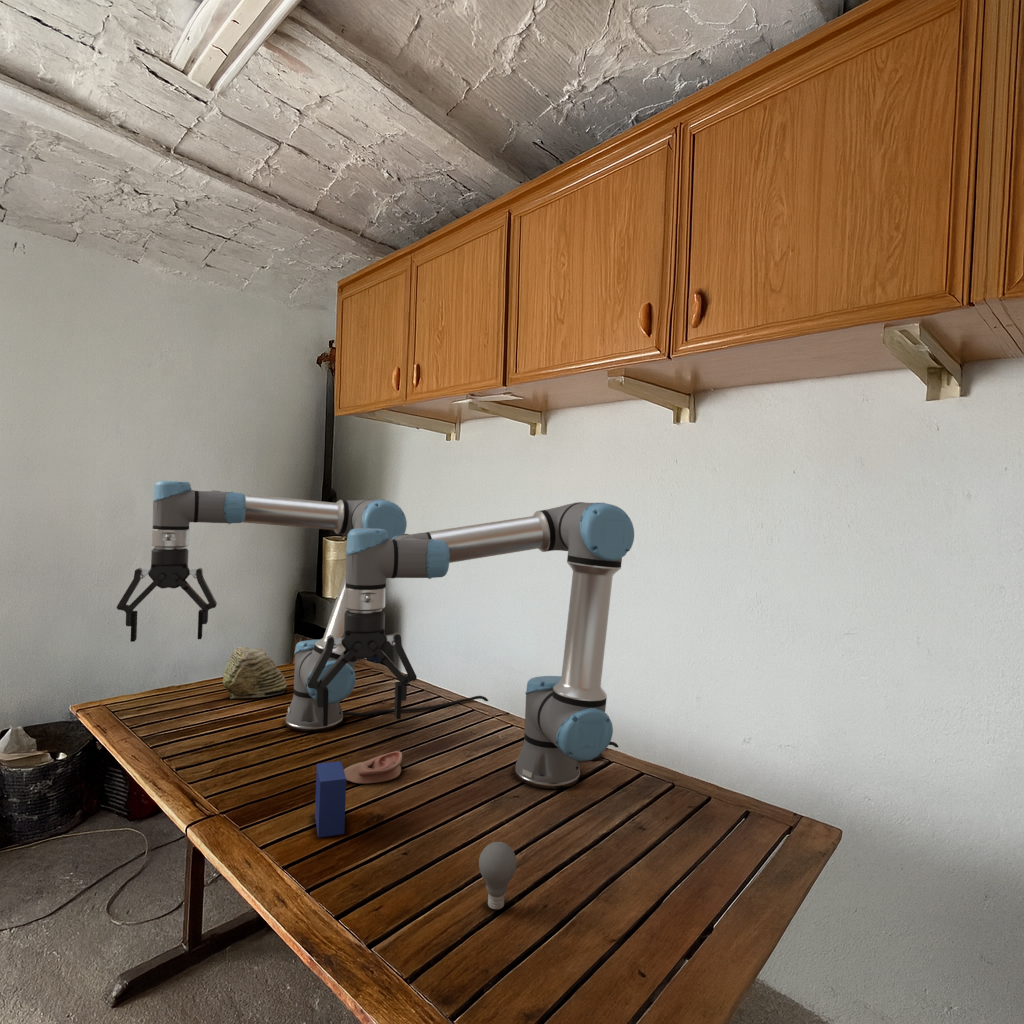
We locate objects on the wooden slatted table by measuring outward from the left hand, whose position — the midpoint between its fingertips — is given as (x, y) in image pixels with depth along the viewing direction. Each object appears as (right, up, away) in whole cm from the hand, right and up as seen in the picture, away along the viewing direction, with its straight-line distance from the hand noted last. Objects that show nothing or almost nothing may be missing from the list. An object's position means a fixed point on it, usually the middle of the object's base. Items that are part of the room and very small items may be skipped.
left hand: (167, 639), depth 147 cm
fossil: (-1, -28, +51) cm, 58 cm away
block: (+44, -31, -24) cm, 59 cm away
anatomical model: (+47, -31, -1) cm, 57 cm away
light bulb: (+77, -33, -47) cm, 96 cm away
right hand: (+51, -10, -26) cm, 58 cm away
